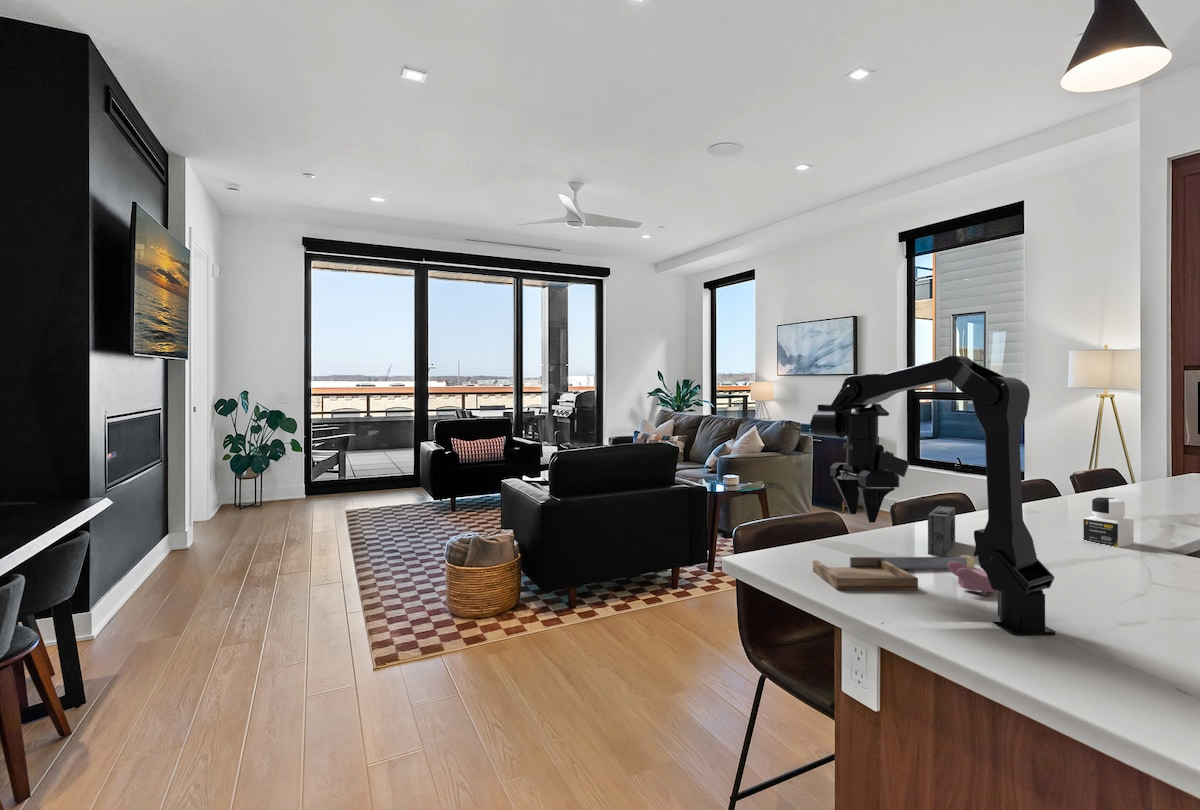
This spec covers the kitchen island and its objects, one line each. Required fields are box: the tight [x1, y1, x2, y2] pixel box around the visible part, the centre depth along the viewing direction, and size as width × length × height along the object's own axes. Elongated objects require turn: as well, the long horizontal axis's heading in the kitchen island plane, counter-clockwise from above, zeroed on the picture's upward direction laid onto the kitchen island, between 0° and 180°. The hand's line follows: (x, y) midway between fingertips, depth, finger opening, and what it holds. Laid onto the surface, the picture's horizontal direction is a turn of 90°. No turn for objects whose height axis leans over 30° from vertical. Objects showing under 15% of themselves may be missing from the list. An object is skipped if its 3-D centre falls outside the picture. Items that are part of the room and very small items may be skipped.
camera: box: [927, 505, 956, 557], centre depth 143 cm, size 16×4×10 cm, turn 143°
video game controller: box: [948, 561, 996, 596], centre depth 114 cm, size 10×5×7 cm
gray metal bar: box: [849, 554, 975, 570], centre depth 128 cm, size 2×26×2 cm, turn 90°
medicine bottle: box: [1083, 496, 1135, 548], centre depth 147 cm, size 7×7×12 cm
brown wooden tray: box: [812, 560, 919, 591], centre depth 120 cm, size 13×15×2 cm
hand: (862, 518), depth 121 cm, fingers open, 8 cm apart
